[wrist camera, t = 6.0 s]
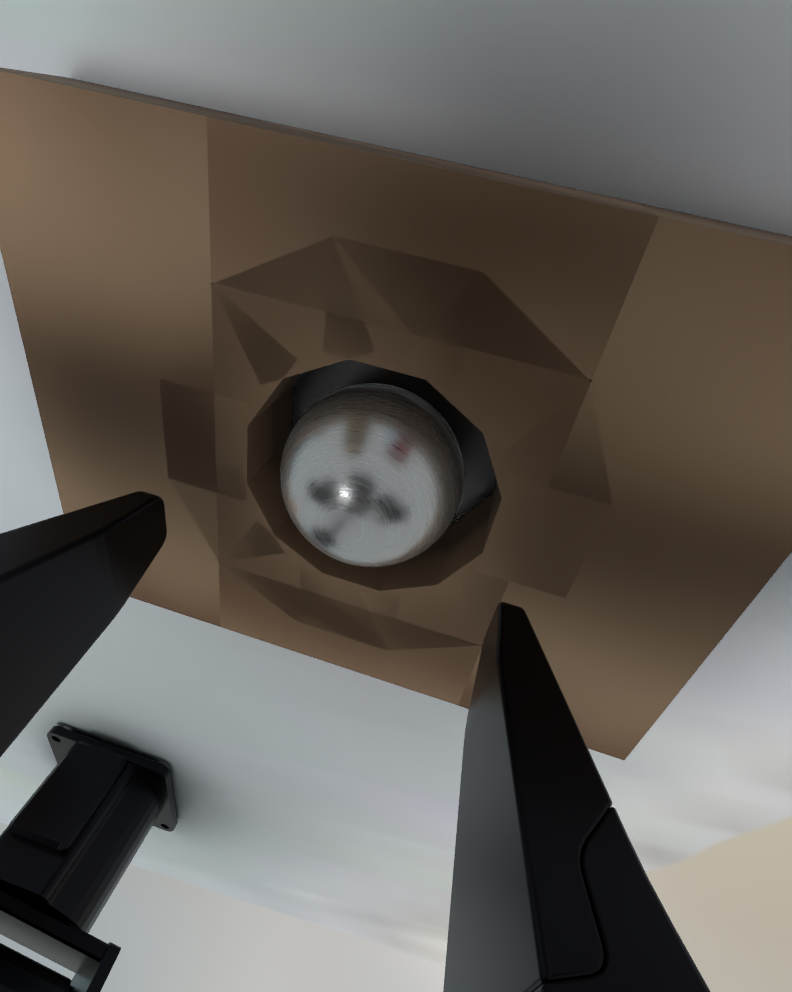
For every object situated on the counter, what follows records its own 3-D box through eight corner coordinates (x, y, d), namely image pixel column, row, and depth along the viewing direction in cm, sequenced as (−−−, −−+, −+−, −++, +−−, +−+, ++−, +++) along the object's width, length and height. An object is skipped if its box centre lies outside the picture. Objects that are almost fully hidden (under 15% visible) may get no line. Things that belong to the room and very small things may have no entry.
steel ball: (452, 520, 14) (423, 629, 11) (313, 480, 15) (245, 573, 11) (494, 382, 12) (473, 469, 9) (327, 339, 12) (247, 405, 9)
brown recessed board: (615, 682, 16) (624, 760, 14) (134, 530, 18) (79, 580, 16) (900, 261, 9) (999, 292, 7) (68, 77, 11) (-44, 61, 9)
